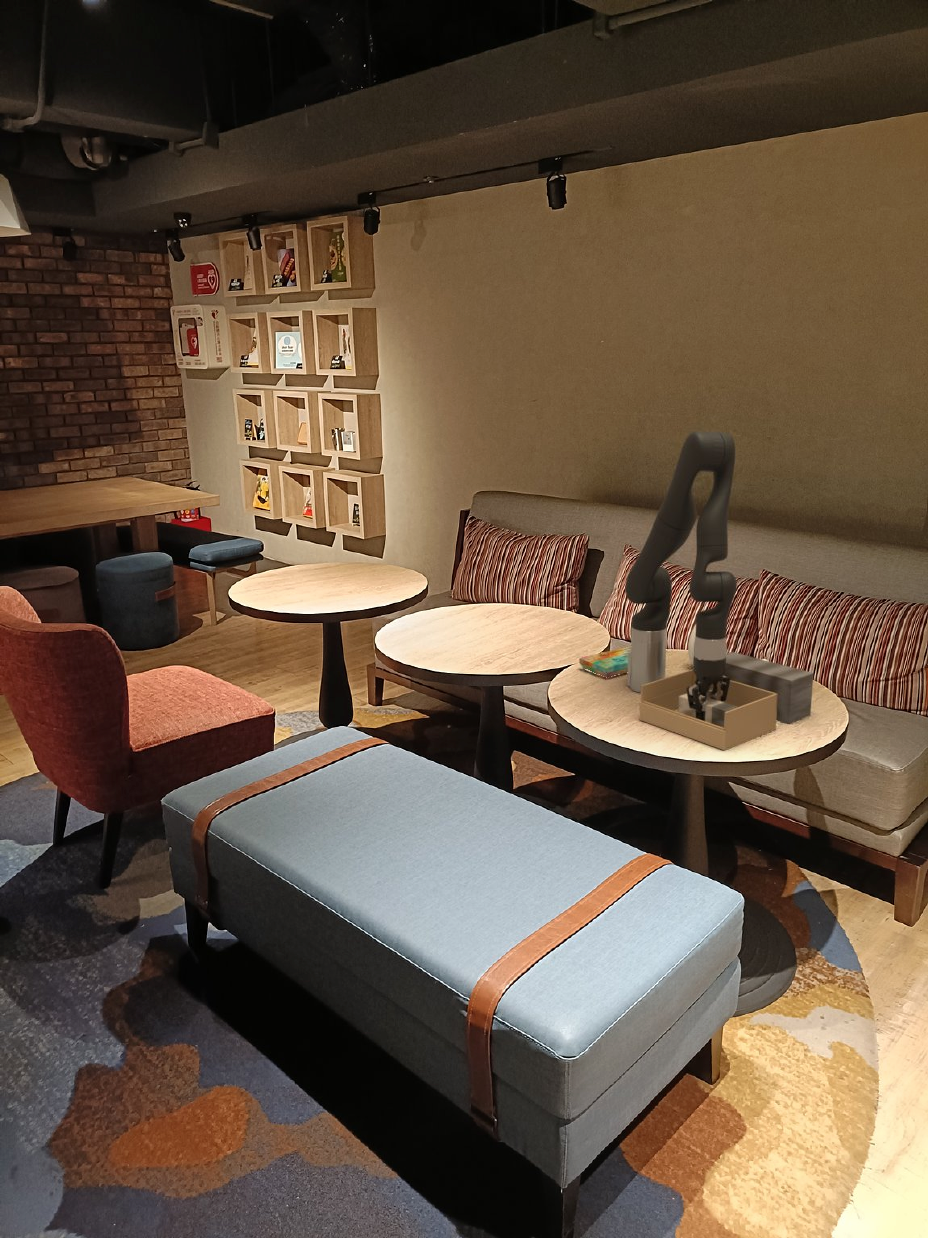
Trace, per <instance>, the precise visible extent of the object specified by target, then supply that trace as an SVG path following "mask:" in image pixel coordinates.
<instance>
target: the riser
mask: <svg viewBox="0 0 928 1238" xmlns="http://www.w3.org/2000/svg"><path fill="white" fill-rule="evenodd" d="M761 659H762V658H756V657H753V656H749V655H747V654H746V655H745V654H742V653H739V652H738V653H737V652H735V651H734V652H733V651H731V652H730V651H729V652H727V653H726V672H725V674H724V675H723V676H726V677H729V678H730V680H731V681H735V682H738V683H742V684H745V685H749V686H752V687H756V688H759V689H763V690H766V691H770V692H773V693H777V694H778V702H777V717H776V722H780V723H784V724H787V725H790V724H793V723H795V722H797V721H800V720H802V719H804V718H807V717H810V716H811V712H812V710H811V709H812V699H813V698H812V696H813V685H814V684H813V683H814V672H811V671H808V670H803V669H799V668H795V667H791V666H788V665H785V664H784V665H783V664H781V663H776V662H772V661H769V660H768V661H765V660H761Z"/></svg>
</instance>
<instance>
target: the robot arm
mask: <svg viewBox="0 0 928 1238" xmlns="http://www.w3.org/2000/svg"><path fill="white" fill-rule="evenodd" d="M682 444H683V445H682V447H681V449H680V454H679V456H678V459H677V463H676V466H675V470H674V473H673V476H672V478H671V481H670V484H669V487H668V489H667V492H666V495H665V496H664V499H663V501H662V503H661V506H660V507H659V510H658V512H657V515H656V517H655V519H654V522H653V525H652V527H651V529H650V532H649V535H648V537H647V538H646V541H645V543H644V544H643V548H642V550H641V551H640V552H639V555H638V556H637V559H636V560H635V562H634V563H633V565H632V567H631V569H630V571H629V572H628V574H627V577H626V582H625V585H624V587H625V595H626V598H627V600H628V601H629V602H631V603H633V604H636V605H645V606H644V607H642V609H641V610H639V611H637V613H635V614H634V615H633V616H632V617H631V631H630V632H631V635H630V637H631V638H630V640H631V643H630V647H631V652H629V653H628V673H627V679H626V680H627V687H628V686H629V687H628V688H630V690H632V691H634V692H636V693H640V694H641V685H644V684H648V683H651V682H654V681H657V680H660V679H663V678H666V664H667V663H666V660H667V659H666V658H667V656H666V655H667V632H668V631H667V629H668V628H667V625H668V620H669V619H670V613H671V604H672V603H671V602H672V592H673V591H672V590H673V588H672V587H673V583H672V579H671V578H672V577H671V576H670V573H669V571H668V570H667V569H666V568H664V567H662V565H663V564H664V563H665V562H666V561H668V559H669V558H671V557H672V556H673V555H674V554H675V553H676V552H677V551H678V550H680V549H681V548H682V546H684V544H685V543H686V541H687V540H688V538H689V537H690V535H691V532H692V530H693V528H694V526H695V524H696V532H695V534H696V540H695V541H696V555H695V562H694V566H693V567H694V568H693V572H692V574H691V577H690V578H691V579H690V582H689V589H688V591H689V595H690V596H691V598H692V599H693V601H695V602H699V603H716V602H717V603H716V604H715V605H714V607H711V608H709V609H705V610H704V609H703V610H704V611H703V610H701V611H699V612H698V613H697V614H696V617H695V625H696V636H695V642H694V660H693V665H692V666H693V667H692V669H693V672H694V673H695V675H696V680H695V685H693V686H692V687H690V686H688V687H687V688H686V691H687V696H688V702H689V707H690V708H692V709H695V710H696V717H695V718H696V719H699V720H702V721H705V708H706V704H707V702H709V699H714V700H717V701H721V702H722V701H725V700H726V697H727V693H728V688H729V684H730V678H729V677H726V676H723V675H724V674H725V672H726V654H727V653H728V652H727V648H728V643H727V642H728V641H727V631H728V630H727V629H728V628H727V627H728V618H729V614H730V609H731V608H732V607H731V606H732V604H733V602H734V599H735V596H736V593H737V588H738V583H737V579H736V577H735V575H734V574H733V573H732V572H730V571H707V568H708V567H709V565H711V564H713V563H717V562H721V561H724V560H726V559H727V558H728V554H729V551H728V550H729V549H728V548H729V547H728V545H729V543H728V541H729V540H728V537H729V535H728V517H729V505H730V499H731V494H732V493H731V492H732V485H733V478H734V470H735V463H736V445H735V439H734V438H733V436H732V434H729V433H728V432H723V431H708V430H707V431H705V430H696V431H692V432H690V434H688V436H687V437H686V438H685V440H684V443H682ZM700 472H708V473H709V472H710V473H711V472H712V475H713V481H712V482H713V483H712V489H711V492H710V495H709V497H708V499H707V501H706V503H705V505H704V507H703V508H702V511H701V512H700V515H699V516H698V519H697V515H698V513H697V507H696V506H697V505H696V502H695V499H694V496H693V485H694V482H695V479H696V477H697V476H698V474H699V473H700ZM696 521H697V523H696ZM721 690H722V691H723V694H721ZM700 695H702V696H705V698H703V697H701V696H700ZM714 697H715V698H714ZM700 700H701V701H702V705H700ZM694 702H695V704H694Z"/></svg>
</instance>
